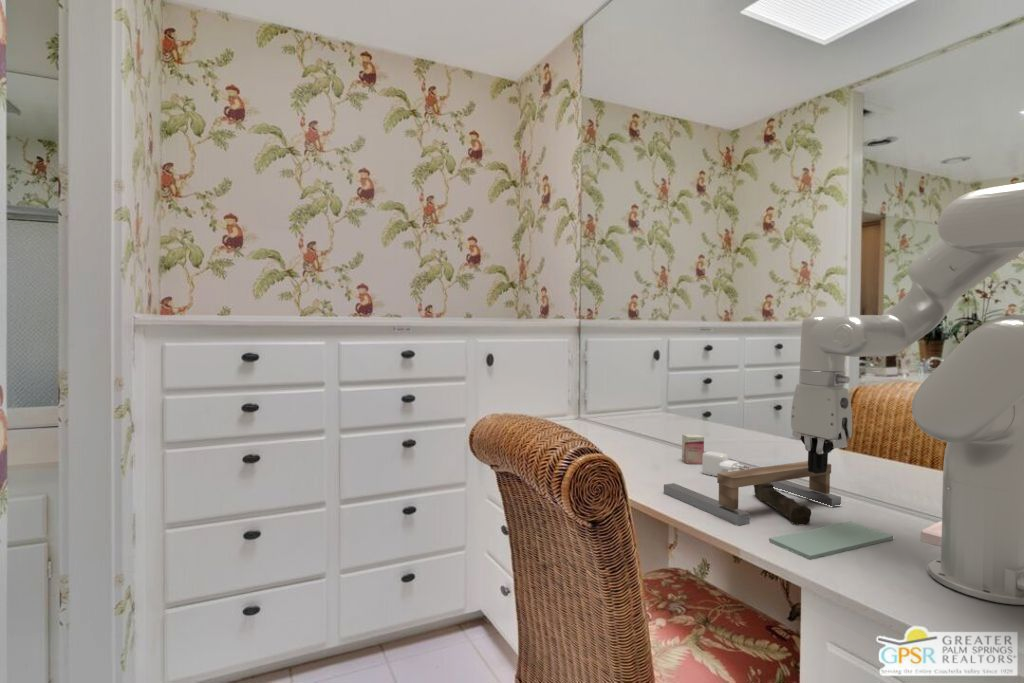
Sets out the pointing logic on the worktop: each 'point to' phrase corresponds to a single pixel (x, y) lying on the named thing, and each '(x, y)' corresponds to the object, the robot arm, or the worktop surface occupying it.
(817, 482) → the wooden bridge block
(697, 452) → the small box
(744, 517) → the rails
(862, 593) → the worktop surface
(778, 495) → the dark brown rough bar
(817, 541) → the mat
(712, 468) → the power adapter
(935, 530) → the soap bar
